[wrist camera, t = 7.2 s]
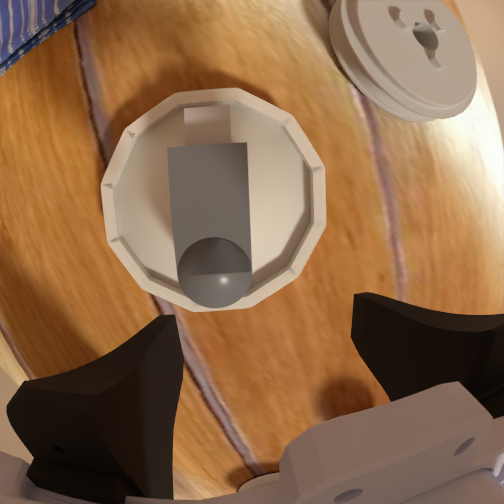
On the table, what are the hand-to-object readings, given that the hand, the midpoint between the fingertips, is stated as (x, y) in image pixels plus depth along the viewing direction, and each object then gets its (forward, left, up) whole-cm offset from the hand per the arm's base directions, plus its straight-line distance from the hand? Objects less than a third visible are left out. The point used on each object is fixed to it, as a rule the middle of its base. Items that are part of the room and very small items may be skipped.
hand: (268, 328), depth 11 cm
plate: (-2, +4, -10) cm, 11 cm away
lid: (+13, +16, -10) cm, 23 cm away
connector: (-2, +4, -9) cm, 10 cm away
